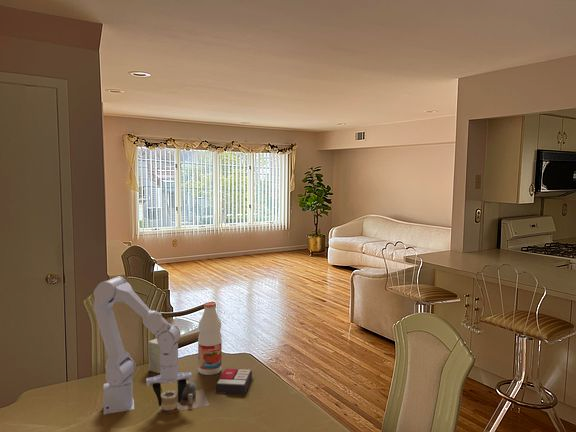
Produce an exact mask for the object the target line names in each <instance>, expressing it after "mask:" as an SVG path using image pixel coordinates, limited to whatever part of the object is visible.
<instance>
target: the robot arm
mask: <svg viewBox="0 0 576 432" xmlns="http://www.w3.org/2000/svg"><path fill="white" fill-rule="evenodd" d="M93 293H94V301H93V310H94V314H95V317H96V321H97V325H98V327H99V331H100V335H101V338H102V342H103V345H104V349H105V353H106V355H107V360H106V363H105V364H104V365H105V366H104V368H105V376H104V377H105V381H106V382H105V383H103V385H102V386H103V394H102V395H103V396H102V397H103V400H102V407H103V416H105V415H108V414H115V413H120V412H125V411H131V410H135V400H134V399H135V398H134V397H133V396H134V395H133V374H134V373H135V371H136V368H137V366H136V362H135V361H134V359H133V358H132V357H131V354H130V353H129V352H128V351H126V350H125V347H124V343H123V341H122V340H123V339H122V337H121V333H120V331H119V326H118V322H117V320H116V316H115V313H114V310H113V305H114V304H115V303H125V304H126V305H127V306H129V308H131V309H132V310H133V311H134V312H135V313H136V314H138V315H139V316H140V317H141V318H142V324H143V325H144V326H145V327H146V328H147V330H148V331H150V332H151V333H152V335H154V336H155V337H156V339H157V342H158V344H159V346H160V373H159V374H158V375H155V376H151V377H147V378H146V379H145V384H146V387H150V386H152V389H153V392H154V394H155V395H156V398H157V402H158V406H159V407H160V406H161V394H162V387H161V385H162V384H173V383H175V382H177V383H176V384H177V392H178V403H180V401H181V396H182V393H183V391H184V389H185V387H186V384H187V382H188V381H192V379H193V376H192V372H190V371H188V372H179V342H178V341H179V340H180V338H181V331H180V328H179V327H178V326H177V325H174V324H171V323H170V322H168V320H166V318H164V317H163V316H162V315H163V314H162V313H161V312H160V311H159V312H158V311H157V310H152V309H150V308H149V307H148V306H147V305H146V303H145V302H144V301H143V300H142V299H141V298H140V296H139V295H138V294H137V293H136V291H134V290H133V287H132V286H131V284H130V283H129V282H128V281H127V280H126V279H125V278H124V277H123V276H114V277H113V278H110V279H108V280H105V281H101V282H99V283H98V284H97V286H96V287H95V288H94V290H93Z"/></svg>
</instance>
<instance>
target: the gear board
mask: <svg viewBox="0 0 576 432" xmlns="http://www.w3.org/2000/svg"><path fill="white" fill-rule="evenodd" d="M186 382H187V384H186V387H185V389H184V391H183V393H182V396H181V401H180V403H178V407H176V408H175V409H173V410H163V409H161V406H159V411H160V415H164V414H165V415H166V414H171V413H175V412H176V413H177V412H183V411H188V410H189V411H190V410H192V409H199V408H205V407H209V406H210V403H209V401H208V398H207V396H206V394H205V392H204V389H201V388H200V389H197V385H196V383H195V382H193V381H186Z"/></svg>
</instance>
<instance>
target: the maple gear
mask: <svg viewBox="0 0 576 432" xmlns="http://www.w3.org/2000/svg"><path fill="white" fill-rule="evenodd" d="M176 407H178V390H177V391H176V390H171V389H170V390H165V391H163V392H161V409H163V410H173V409H175V408H176Z"/></svg>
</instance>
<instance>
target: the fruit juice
mask: <svg viewBox="0 0 576 432" xmlns="http://www.w3.org/2000/svg"><path fill="white" fill-rule="evenodd" d="M203 308H204V310H203V313H202V317H201V319H200V320H199V322H198V330H199V334H198V336H197V337H198V338H197V345H198V346H197V354H198V355H197V358H198V359H197V360H198V363H197V366H198V367H197V368H198V373H199V374H200V375H205V376H213V375H217V374H219V373H221V372H222V363H223V362H222V360H223V359H222V356H223V355H222V349H223V348H222V345H223V342H222V341H223V340H222V333H221V328H222V322H221V320H220V318H219V315H218V313H217V310H216V308H217V303H216V302H213V301H210V302H209V301H208V302H204V304H203Z"/></svg>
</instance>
